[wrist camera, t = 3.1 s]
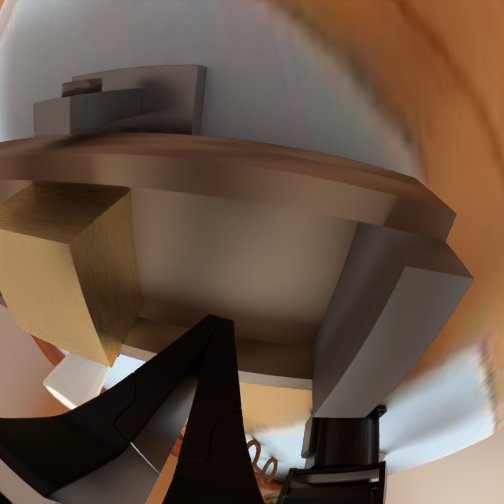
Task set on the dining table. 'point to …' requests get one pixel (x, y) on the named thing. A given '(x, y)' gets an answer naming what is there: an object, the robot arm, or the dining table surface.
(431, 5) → the dining table surface
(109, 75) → the pivot stand
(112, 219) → the brass block
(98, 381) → the white cup
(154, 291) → the beam
